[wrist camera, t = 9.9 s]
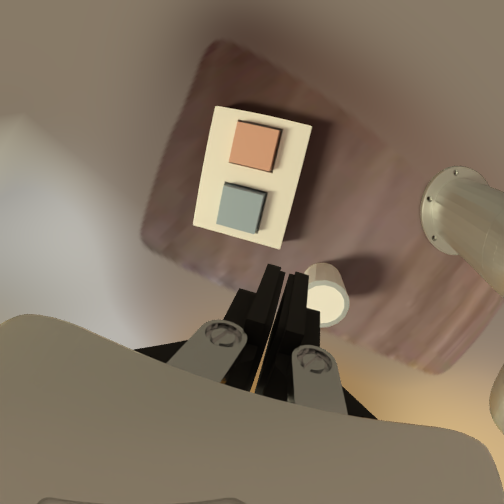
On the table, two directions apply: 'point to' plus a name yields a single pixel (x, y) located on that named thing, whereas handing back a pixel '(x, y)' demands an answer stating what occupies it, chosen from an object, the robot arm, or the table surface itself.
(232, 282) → the table surface
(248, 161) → the key terracotta
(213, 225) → the board
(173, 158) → the table surface
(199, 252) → the table surface
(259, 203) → the key slate
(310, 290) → the shot glass
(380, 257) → the table surface
